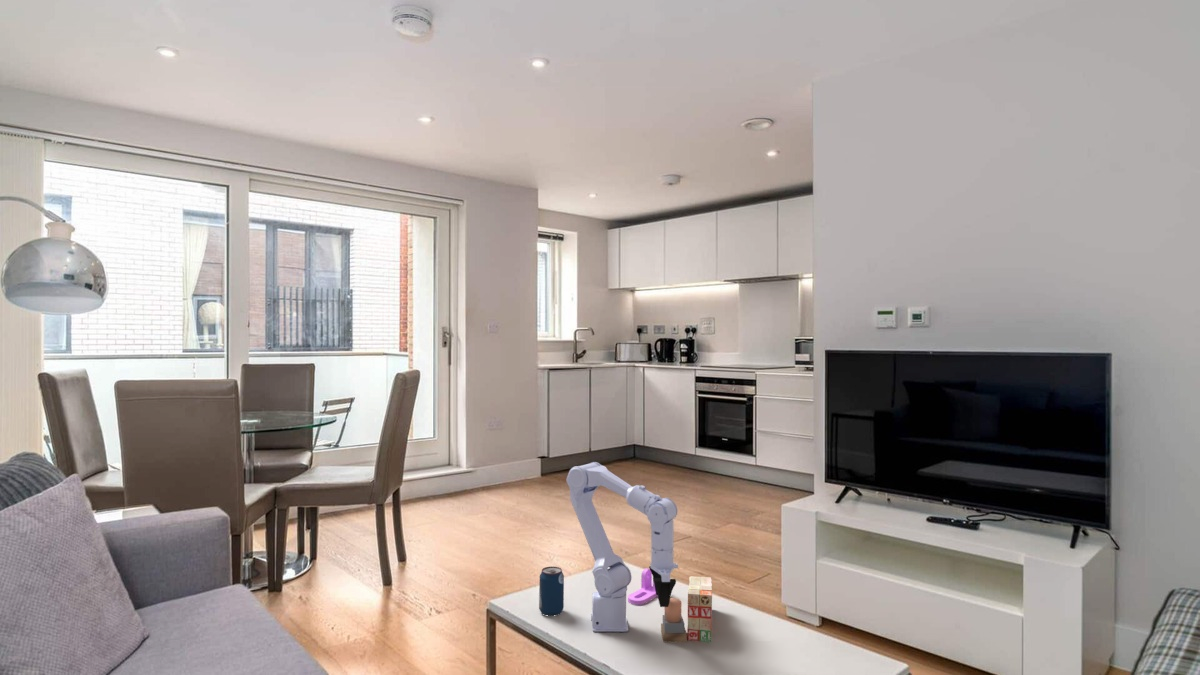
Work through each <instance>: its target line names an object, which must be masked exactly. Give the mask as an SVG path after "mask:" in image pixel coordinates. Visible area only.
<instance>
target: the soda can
mask: <svg viewBox="0 0 1200 675" xmlns="http://www.w3.org/2000/svg"><path fill="white" fill-rule="evenodd" d="M538 586H539V593H538V594H539V595H538V597H539V598H538V608H539V609H538V610H539V612H540V614H542V615H543V614H544V615H543V616H545V615H548V616H547V617H555V616H554V615H557V616H559V615H560V613H561V614H562V613H563V610H564V607H565V603H564V600H565V596H564V595H565V593H564V591H565V575H564V573H563V570H562V568H561V567H559V566H546V567H544V568H543V567H542V569H541V572H540V574H539V585H538ZM558 614H559V615H558Z"/></svg>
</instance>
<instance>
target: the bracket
mask: <svg viewBox="0 0 1200 675" xmlns="http://www.w3.org/2000/svg"><path fill="white" fill-rule="evenodd" d="M640 580H641V583H640V584H641V586H640V588H639V589H638V590H636V591H633V593H630V594H628V596H627V603H628V604H630V603H631V604H630V605H633V604H635V605H634V606H642V604H643V605H645V604H647V603H649V602H650V600H651V599H652V600H654V599H655V597H656V598H658V595H656V591H655V585H654V581H653V575H652V573H651V571H650V568H646V567H645V568H643V570H642V571H641V579H640ZM641 596H642V597H641ZM653 598H654V599H653ZM652 600H651V601H652ZM648 601H649V602H648ZM646 602H647V603H646ZM644 603H645V604H644Z"/></svg>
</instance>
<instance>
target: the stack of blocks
mask: <svg viewBox="0 0 1200 675" xmlns="http://www.w3.org/2000/svg"><path fill="white" fill-rule="evenodd" d="M688 578H689V582H688V590H687V629H686V633H687V641H695V642H707V643H708V642H709V643H711V642H712V636H713V635H712V630H713V628H712V625H713V614H712V613H713V584H712V577H710V576H689V577H688Z"/></svg>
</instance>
